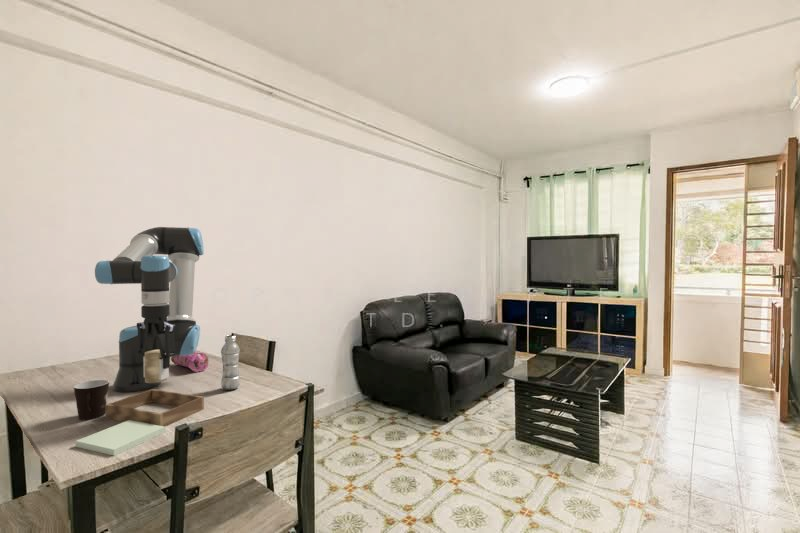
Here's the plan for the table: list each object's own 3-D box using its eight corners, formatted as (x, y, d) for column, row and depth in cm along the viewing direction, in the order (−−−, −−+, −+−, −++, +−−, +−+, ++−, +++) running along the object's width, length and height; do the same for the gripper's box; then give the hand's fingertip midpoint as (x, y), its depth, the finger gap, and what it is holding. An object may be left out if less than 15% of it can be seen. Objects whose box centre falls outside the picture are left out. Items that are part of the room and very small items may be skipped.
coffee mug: (87, 411, 124) (87, 380, 123) (115, 410, 124) (115, 379, 124) (58, 426, 112) (58, 392, 112) (90, 425, 113) (89, 391, 112)
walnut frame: (105, 418, 118) (105, 405, 118) (152, 400, 133) (152, 389, 133) (160, 428, 111) (160, 414, 111) (203, 409, 126) (203, 396, 126)
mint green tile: (75, 446, 100) (75, 440, 100) (129, 425, 113) (129, 419, 113) (114, 455, 95) (114, 449, 95) (164, 432, 109) (164, 426, 109)
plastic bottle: (244, 387, 147) (243, 335, 147) (229, 392, 141) (229, 338, 141) (231, 385, 150) (231, 333, 150) (216, 390, 144) (216, 336, 143)
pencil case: (168, 366, 176) (168, 347, 176) (189, 362, 184) (189, 343, 184) (189, 375, 163) (189, 354, 163) (211, 370, 170) (211, 350, 170)
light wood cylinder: (140, 381, 120) (139, 353, 120) (157, 376, 126) (157, 348, 126) (154, 384, 118) (154, 354, 118) (171, 378, 124) (171, 350, 124)
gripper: (122, 304, 121) (122, 377, 122) (167, 307, 115) (168, 384, 116) (144, 301, 128) (145, 370, 129) (188, 304, 122) (189, 377, 123)
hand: (156, 377), depth 122 cm, fingers closed on light wood cylinder, 6 cm apart
